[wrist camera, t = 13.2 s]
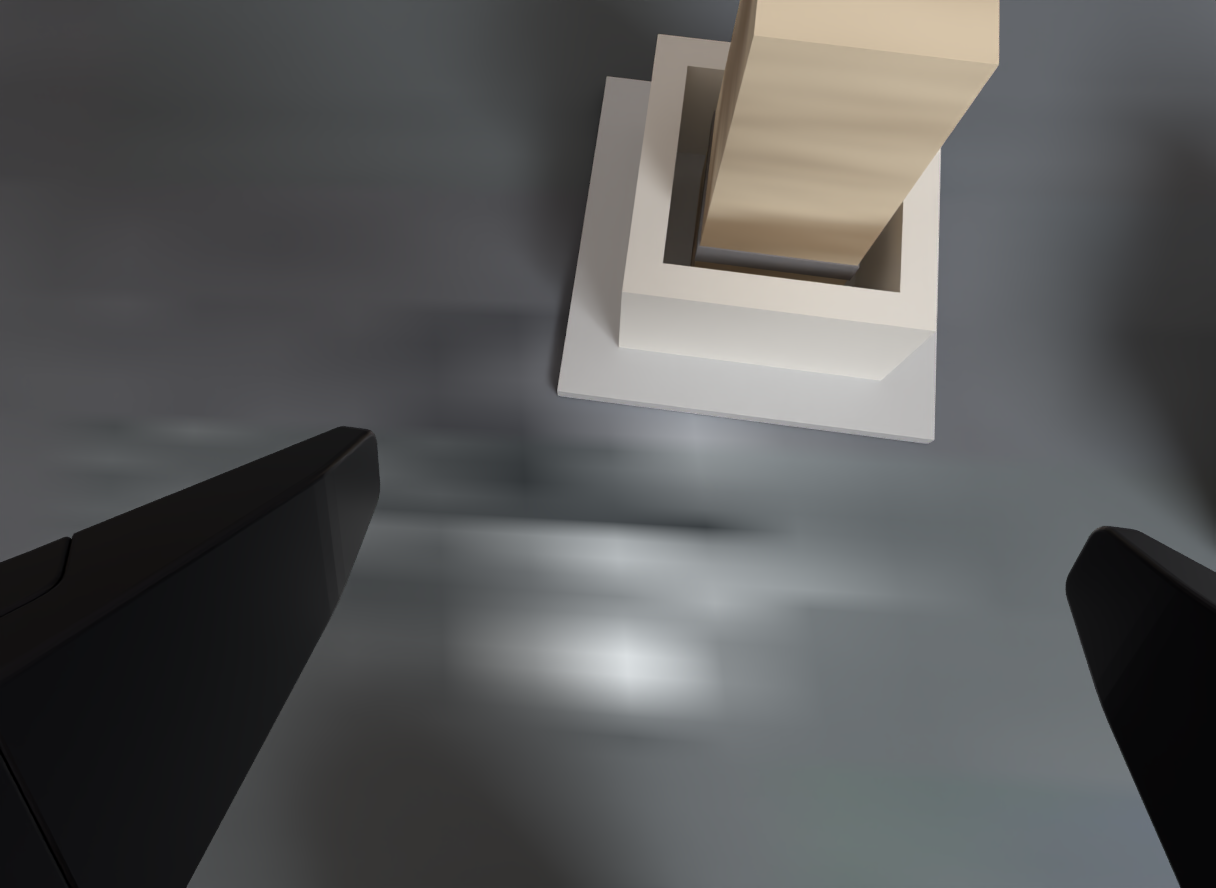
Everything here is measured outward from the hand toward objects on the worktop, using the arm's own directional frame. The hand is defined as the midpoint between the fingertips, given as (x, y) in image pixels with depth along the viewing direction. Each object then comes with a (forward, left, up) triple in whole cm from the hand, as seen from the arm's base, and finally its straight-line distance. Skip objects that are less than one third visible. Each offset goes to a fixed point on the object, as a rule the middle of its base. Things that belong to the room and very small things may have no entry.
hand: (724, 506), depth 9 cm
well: (+7, -9, -14) cm, 18 cm away
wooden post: (+7, -9, -13) cm, 17 cm away
